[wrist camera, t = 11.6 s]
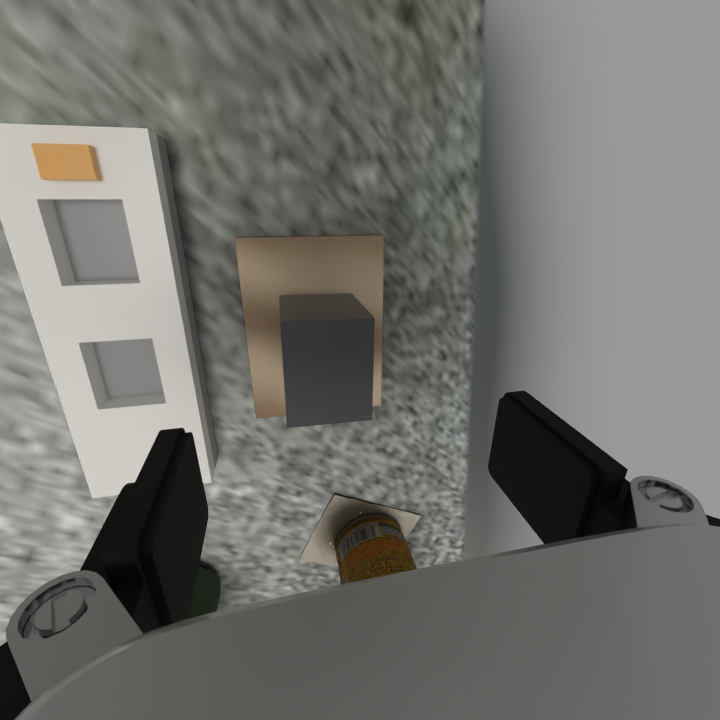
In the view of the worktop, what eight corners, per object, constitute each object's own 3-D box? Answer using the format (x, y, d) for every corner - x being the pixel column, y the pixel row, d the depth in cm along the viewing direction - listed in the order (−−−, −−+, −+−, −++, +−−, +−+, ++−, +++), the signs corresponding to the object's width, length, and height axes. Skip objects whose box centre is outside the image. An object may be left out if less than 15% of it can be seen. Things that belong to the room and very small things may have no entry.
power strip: (13, 135, 19) (-43, 119, 15) (165, 139, 20) (143, 125, 17) (111, 468, 26) (88, 505, 23) (218, 455, 27) (210, 488, 24)
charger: (278, 291, 24) (280, 322, 17) (348, 289, 24) (374, 318, 18) (284, 372, 26) (287, 427, 19) (348, 368, 26) (372, 419, 20)
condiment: (383, 573, 35) (431, 735, 24) (298, 558, 33) (310, 733, 22) (419, 513, 34) (489, 659, 23) (334, 491, 31) (365, 645, 20)
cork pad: (235, 237, 22) (234, 238, 22) (382, 235, 24) (384, 235, 24) (256, 414, 27) (256, 418, 26) (379, 402, 29) (381, 405, 28)
